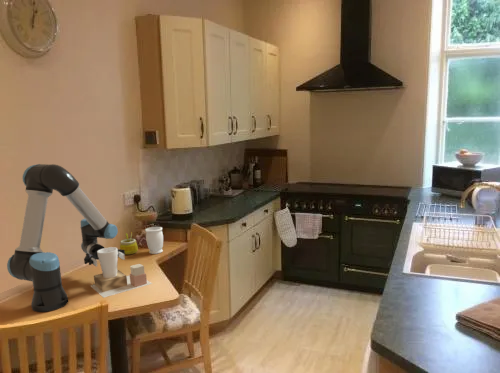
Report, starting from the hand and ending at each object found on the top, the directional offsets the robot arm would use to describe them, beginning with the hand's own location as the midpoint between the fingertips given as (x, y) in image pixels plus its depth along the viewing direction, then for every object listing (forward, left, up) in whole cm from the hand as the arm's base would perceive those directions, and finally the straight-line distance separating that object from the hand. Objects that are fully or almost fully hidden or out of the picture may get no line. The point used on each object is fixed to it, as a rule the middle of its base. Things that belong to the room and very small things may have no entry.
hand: (110, 260), depth 209 cm
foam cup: (0, +3, -9) cm, 9 cm away
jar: (+42, +43, -15) cm, 62 cm away
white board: (+4, 0, -15) cm, 16 cm away
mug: (+30, +55, -15) cm, 65 cm away
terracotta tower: (+11, -5, -13) cm, 18 cm away
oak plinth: (0, +3, -13) cm, 14 cm away
